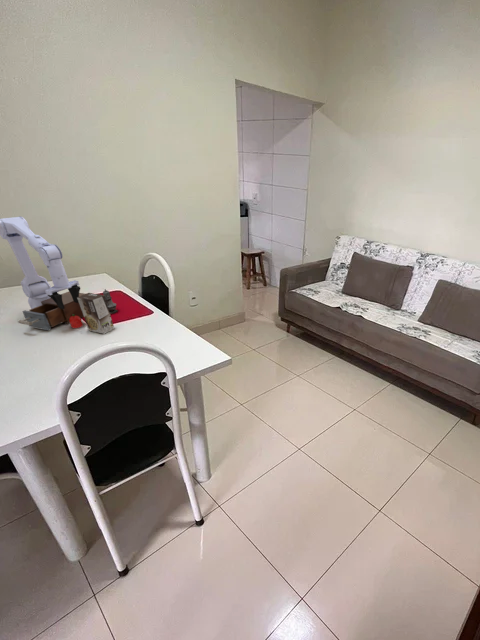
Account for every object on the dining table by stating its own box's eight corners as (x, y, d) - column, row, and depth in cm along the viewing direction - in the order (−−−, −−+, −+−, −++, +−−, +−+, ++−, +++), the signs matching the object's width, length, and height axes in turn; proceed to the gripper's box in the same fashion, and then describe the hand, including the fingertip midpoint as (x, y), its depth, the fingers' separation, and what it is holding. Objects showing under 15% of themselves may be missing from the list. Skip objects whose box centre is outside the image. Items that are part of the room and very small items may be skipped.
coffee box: (115, 328, 150) (105, 295, 142) (103, 334, 145) (92, 299, 136) (99, 325, 153) (88, 292, 144) (88, 330, 147) (76, 296, 139)
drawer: (38, 334, 141) (31, 319, 137) (18, 330, 143) (10, 315, 139) (76, 317, 157) (70, 303, 153) (57, 314, 159) (52, 300, 155)
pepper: (69, 328, 149) (64, 316, 146) (74, 324, 153) (70, 312, 150) (80, 328, 149) (75, 316, 146) (85, 324, 153) (80, 312, 150)
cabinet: (69, 323, 153) (61, 305, 148) (48, 319, 156) (40, 301, 151) (95, 311, 166) (89, 294, 161) (75, 307, 168) (69, 291, 163)
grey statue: (113, 314, 163) (106, 291, 157) (102, 313, 164) (95, 290, 157) (120, 310, 168) (114, 287, 161) (110, 308, 169) (103, 286, 162)
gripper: (50, 281, 131) (62, 312, 139) (80, 271, 143) (90, 301, 150) (36, 279, 133) (49, 310, 140) (67, 269, 145) (77, 299, 152)
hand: (69, 305), depth 145 cm, fingers open, 7 cm apart
